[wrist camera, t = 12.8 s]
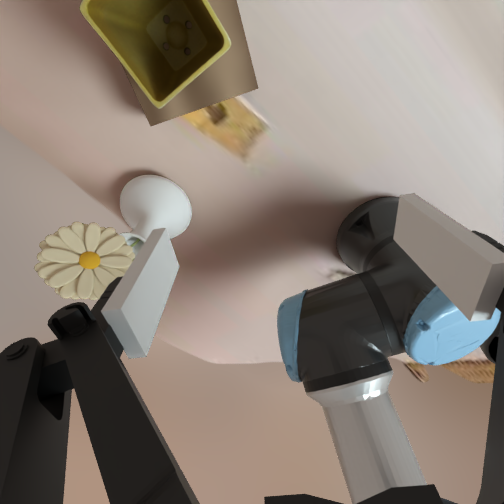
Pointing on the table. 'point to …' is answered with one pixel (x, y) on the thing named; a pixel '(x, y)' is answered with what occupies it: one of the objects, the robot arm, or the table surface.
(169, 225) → the flower in vase
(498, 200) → the table surface
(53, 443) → the robot arm
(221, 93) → the walnut block
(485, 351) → the coal bowl
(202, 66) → the flower pot
